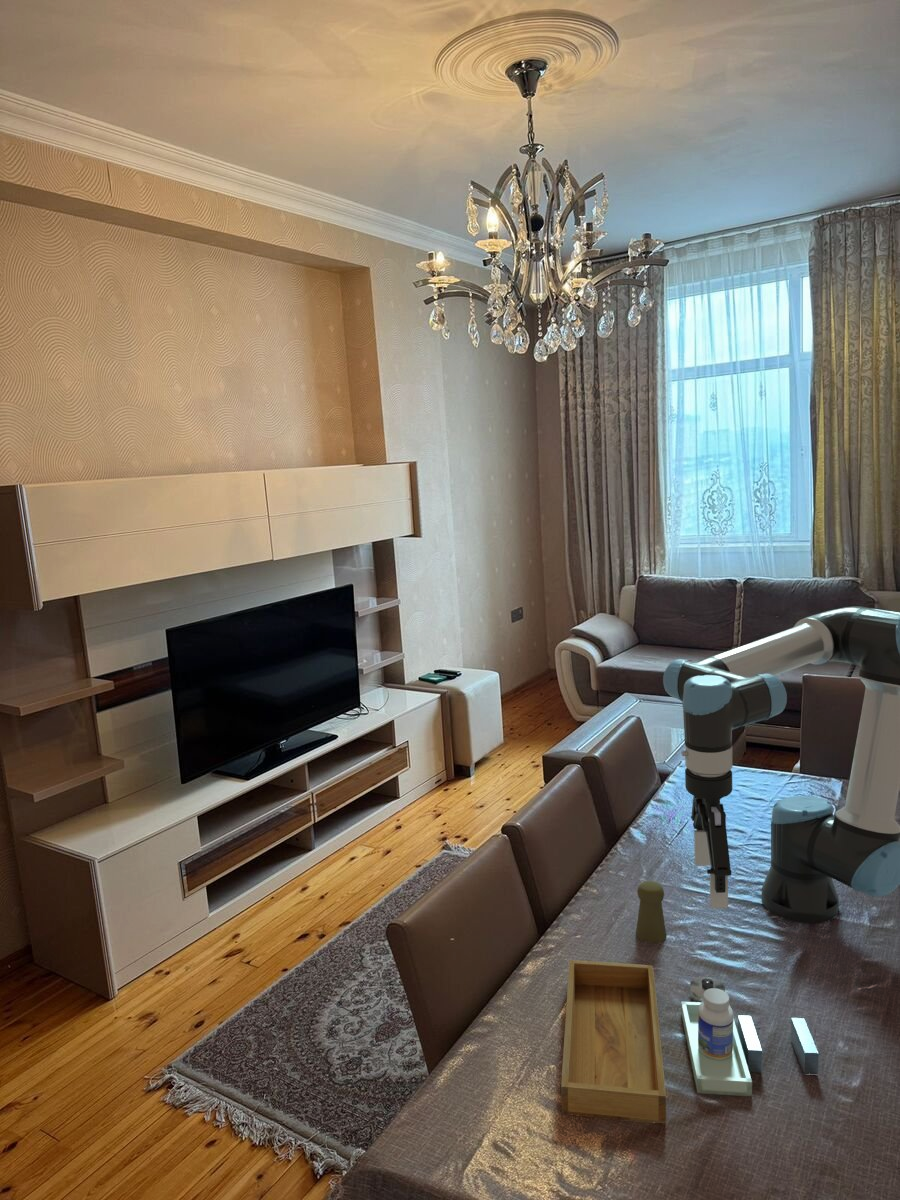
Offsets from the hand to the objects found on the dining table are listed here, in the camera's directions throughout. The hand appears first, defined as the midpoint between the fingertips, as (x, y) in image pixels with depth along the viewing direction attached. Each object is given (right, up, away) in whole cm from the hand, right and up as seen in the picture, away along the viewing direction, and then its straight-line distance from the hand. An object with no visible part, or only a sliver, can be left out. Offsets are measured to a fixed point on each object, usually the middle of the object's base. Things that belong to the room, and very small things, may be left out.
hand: (710, 885), depth 143 cm
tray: (-18, -26, -5) cm, 32 cm away
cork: (-4, -19, +26) cm, 32 cm away
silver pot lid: (+1, -22, +6) cm, 23 cm away
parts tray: (-2, -25, -7) cm, 26 cm away
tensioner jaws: (+8, -24, -9) cm, 27 cm away
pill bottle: (-2, -24, -8) cm, 25 cm away
